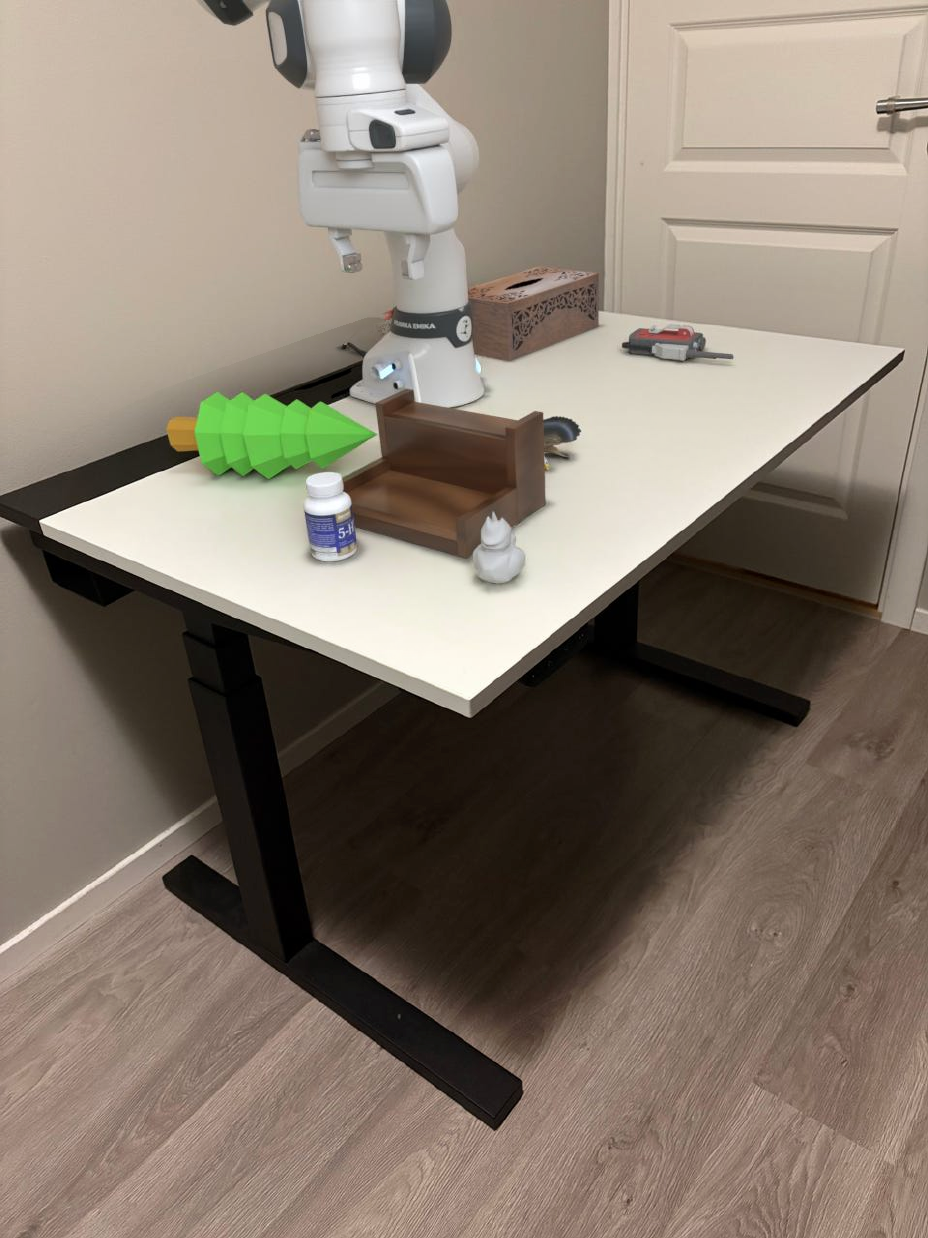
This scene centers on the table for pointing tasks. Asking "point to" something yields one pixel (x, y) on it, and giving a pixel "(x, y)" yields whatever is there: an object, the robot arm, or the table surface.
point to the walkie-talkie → (670, 343)
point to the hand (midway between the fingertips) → (382, 275)
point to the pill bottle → (329, 518)
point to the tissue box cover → (532, 310)
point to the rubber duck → (497, 552)
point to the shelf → (447, 474)
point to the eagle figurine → (558, 434)
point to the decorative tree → (265, 434)
